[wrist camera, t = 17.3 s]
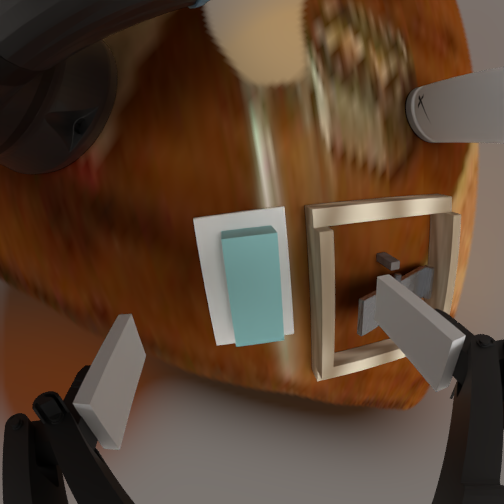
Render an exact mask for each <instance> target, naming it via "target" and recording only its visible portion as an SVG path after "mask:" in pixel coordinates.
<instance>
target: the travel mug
mask: <svg viewBox="0 0 504 504" xmlns="http://www.w3.org/2000/svg"><path fill="white" fill-rule="evenodd" d="M406 114H407V118H408V121H409V124H410V126H411V128H412V129H413V131H414V132H415V133H416V134H417V136H419V137H420V138H421V139H423V140H424V141H427V142H431V143H439V142H476V143H504V67H499V68H494V69H489V70H484V71H479V72H475V73H471V74H466V75H462V76H458V77H454V78H450V79H446V80H443V81H439V82H435V83H432V84H428V85H425V86H421V87H418V88H416V89H414V90H412V91H411V92H410V94H409V96H408V98H407V102H406Z"/></svg>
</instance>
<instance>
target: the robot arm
mask: <svg viewBox="0 0 504 504" xmlns="http://www.w3.org/2000/svg"><path fill="white" fill-rule="evenodd" d="M208 1H209V0H0V164H2V165H4V166H6V167H8V168H10V169H12V170H14V171H16V172H19V173H23V174H41V173H49V172H53V171H57V170H59V169H62V168H64V167H66V166H68V165H69V164H71V163H72V162H74V161H75V160H76V159H78V158H79V157H80V156H81V155H82V154H83V153H84V152H85V151H86V150H87V149H88V148H89V147H90V146H91V145H92V144H93V142H94V141H95V140H96V138H97V137H98V136H99V134H100V132H101V131H102V129H103V127H104V126H105V124H106V122H107V120H108V117H109V115H110V113H111V110H112V107H113V104H114V100H115V96H116V90H117V67H116V62H115V59H114V56H113V54H112V52H111V50H110V49H109V47H108V46H107V45H106V44H105V43H104V42H103V41H102V39H104V38H106V37H108V36H110V35H112V34H114V33H117V32H119V31H121V30H123V29H126V28H128V27H130V26H133V25H135V24H138V23H140V22H143V21H145V20H148V19H151V18H153V17H156V16H159V15H162V14H165V13H168V12H171V11H174V10H177V9H181V8H184V7H189V8H196V7H200V6H202V5H204V4H205V3H207V2H208ZM374 320H375V321H376V323H377V324H378V325H379V326H380V327H381V328H382V329H383V330H384V332H385V333H386V334H387V335H388V336H389V337H390V338H391V339H392V341H393V342H394V343H395V344H396V345H397V346H398V348H399V349H400V350H401V351H402V352H403V353H404V354H405V356H406V357H407V358H408V359H409V360H410V361H411V363H412V364H413V365H414V366H415V367H416V369H417V370H418V371H419V372H420V373H421V374H422V376H423V377H424V378H425V379H426V380H427V382H428V383H429V384H430V385H431V387H432V388H433V389H434V390H435V391H436V392H438V391H440V390H442V389H444V388H446V387H448V386H449V384H450V382H451V379H452V376H454V378H455V379H456V380H457V382H456V385H455V387H454V390H453V392H452V395H451V397H450V398H451V399H452V398H453V396H454V401H453V410H452V417H451V424H450V430H449V436H448V442H447V447H446V452H445V456H444V461H443V466H442V469H441V473H440V478H439V481H438V485H437V488H436V492H435V495H434V499H433V502H432V504H504V486H503V485H500V473H501V462H502V447H503V429H504V340H499V341H495V340H494V339H493V338H492V337H490V336H488V335H484V334H478V335H475V336H474V335H473V334H472V333H471V332H469V331H468V330H467V329H466V328H465V327H464V326H462V325H461V324H460V323H457V321H456V320H455V319H454V318H453V319H452V317H451V316H450V315H449V314H447V313H446V312H444V311H442V310H439V309H433V308H432V307H431V306H429V305H428V304H427V303H426V302H424V301H423V300H422V299H420V298H419V297H418V296H417V295H415V294H414V293H413V292H411V291H410V290H409V289H408V288H406V287H405V286H404V285H402V284H401V283H400V282H398V281H397V280H396V279H394V278H393V277H392V276H391V275H389V274H388V275H383V276H378V277H377V290H376V304H375V315H374ZM145 357H146V354H145V352H144V349H143V346H142V343H141V340H140V337H139V335H138V332H137V329H136V326H135V323H134V320H133V316H132V314H122V315H118V317H117V319H116V320H115V322H114V324H113V326H112V327H111V329H110V331H109V333H108V335H107V337H106V338H105V340H104V342H103V344H102V346H101V348H100V349H99V352H98V353H97V355H96V357H95V359H94V361H93V363H92V365H91V366H90V365H89V366H84V367H83V368H82V369H81V370H80V371H79V372H78V373H77V375H76V377H75V379H74V382H73V383H72V385H71V387H70V389H69V391H68V392H67V394H66V396H65V399H64V400H62V399H61V397H60V396H59V394H58V393H56V392H53V391H49V392H45V393H42V394H41V395H39V396H38V397H37V398H36V399H35V400H34V402H33V410H34V411H35V413H36V414H37V416H38V417H39V418H40V420H39V421H32V422H31V421H30V420H29V418H28V417H27V416H26V415H25V414H22V413H18V414H15V415H13V416H11V417H10V418H9V419H8V420H7V422H6V425H5V432H4V444H3V474H2V475H3V503H4V504H68V500H67V495H66V490H65V486H64V480H63V475H64V477H65V479H66V481H67V483H68V486H69V488H70V489H71V491H72V494H73V495H74V497H75V499H76V501H77V503H78V504H135V503H134V502H133V501H132V500H131V498H130V497H129V496H128V494H127V493H126V492H125V490H124V489H123V488H122V486H121V485H120V484H119V482H118V480H117V479H116V478H115V476H114V475H113V473H112V472H111V470H110V469H109V467H108V466H107V464H106V463H105V461H104V459H103V458H102V456H101V455H100V453H99V451H98V450H97V449H96V448H95V447H96V444H97V440H98V441H99V443H100V444H101V445H102V447H103V448H105V449H116V450H120V447H121V443H122V439H123V435H124V431H125V427H126V424H127V420H128V416H129V412H130V409H131V405H132V402H133V398H134V395H135V391H136V388H137V384H138V381H139V377H140V374H141V371H142V367H143V364H144V361H145ZM62 473H63V474H62Z"/></svg>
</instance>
